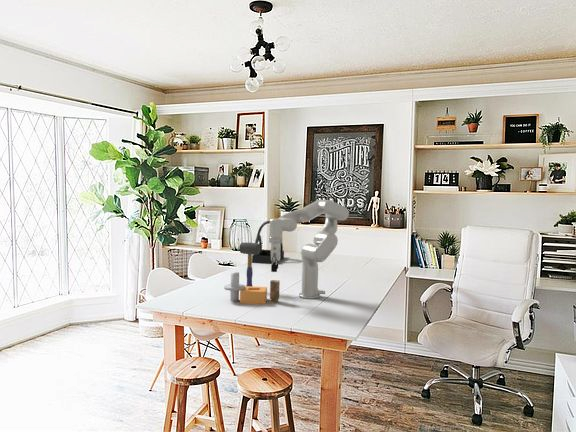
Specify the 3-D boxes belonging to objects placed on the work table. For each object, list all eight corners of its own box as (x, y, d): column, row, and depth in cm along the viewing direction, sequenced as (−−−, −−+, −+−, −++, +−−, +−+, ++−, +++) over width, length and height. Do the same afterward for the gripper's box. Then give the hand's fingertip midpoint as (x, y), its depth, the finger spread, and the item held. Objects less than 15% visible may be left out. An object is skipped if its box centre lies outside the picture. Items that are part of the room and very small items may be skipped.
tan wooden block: (279, 301, 266) (279, 280, 266) (278, 302, 262) (279, 281, 262) (270, 300, 267) (270, 280, 266) (269, 302, 263) (270, 281, 262)
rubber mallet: (237, 289, 291) (238, 242, 289) (243, 287, 298) (244, 241, 296) (255, 292, 286) (256, 244, 284) (260, 289, 293) (261, 242, 291)
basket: (275, 264, 383) (276, 223, 381) (251, 263, 388) (251, 222, 385) (284, 257, 417) (285, 219, 415) (262, 256, 422) (262, 218, 419)
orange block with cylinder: (266, 298, 271) (267, 271, 270) (264, 304, 259) (265, 275, 258) (226, 297, 272) (226, 270, 271) (222, 302, 260) (222, 274, 259)
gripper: (281, 242, 253) (280, 273, 254) (283, 238, 270) (282, 267, 271) (267, 241, 253) (266, 272, 255) (270, 238, 271) (269, 267, 272)
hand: (274, 270), depth 263 cm, fingers open, 9 cm apart
